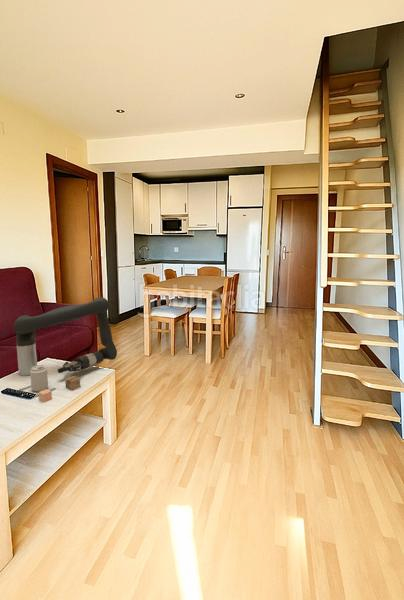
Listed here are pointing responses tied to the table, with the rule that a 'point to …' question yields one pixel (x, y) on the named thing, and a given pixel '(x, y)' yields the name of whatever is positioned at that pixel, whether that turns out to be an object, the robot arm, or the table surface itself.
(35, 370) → the can
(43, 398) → the clay block
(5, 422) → the table surface
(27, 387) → the frame
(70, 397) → the table surface
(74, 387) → the walnut block
